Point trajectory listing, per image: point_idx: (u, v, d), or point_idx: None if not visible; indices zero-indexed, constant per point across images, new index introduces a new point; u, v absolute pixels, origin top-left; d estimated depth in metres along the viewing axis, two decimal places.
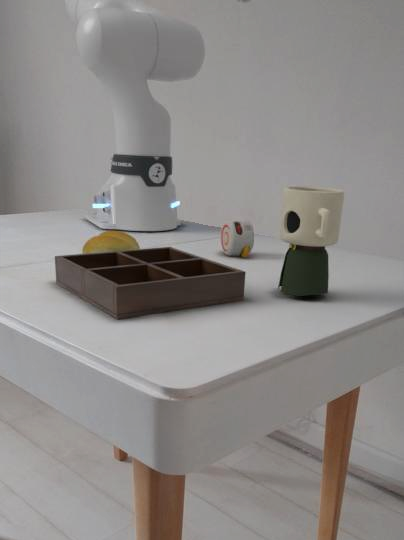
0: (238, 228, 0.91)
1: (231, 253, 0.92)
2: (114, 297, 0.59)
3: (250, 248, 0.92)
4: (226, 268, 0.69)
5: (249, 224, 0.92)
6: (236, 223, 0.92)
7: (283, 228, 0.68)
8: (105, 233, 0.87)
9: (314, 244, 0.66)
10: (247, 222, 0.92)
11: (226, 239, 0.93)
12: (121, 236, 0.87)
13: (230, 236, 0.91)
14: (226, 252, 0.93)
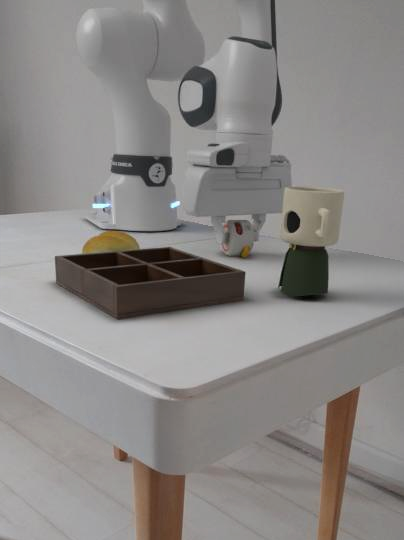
0: (238, 228, 0.91)
1: (231, 253, 0.92)
2: (114, 297, 0.59)
3: (250, 248, 0.92)
4: (226, 268, 0.69)
5: (249, 224, 0.92)
6: (236, 223, 0.92)
7: (283, 228, 0.68)
8: (105, 233, 0.87)
9: (314, 244, 0.66)
10: (247, 222, 0.92)
11: None
12: (121, 236, 0.87)
13: (230, 236, 0.91)
14: (226, 252, 0.93)
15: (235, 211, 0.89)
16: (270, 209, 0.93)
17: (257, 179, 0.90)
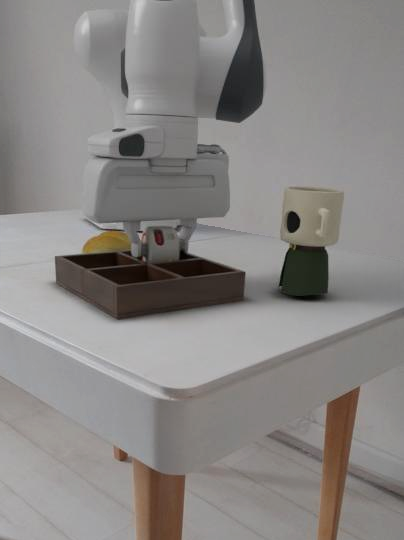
0: (158, 237, 0.71)
1: None
2: (114, 297, 0.59)
3: None
4: (226, 268, 0.69)
5: (173, 232, 0.72)
6: (157, 230, 0.72)
7: (283, 228, 0.68)
8: (105, 233, 0.87)
9: (314, 244, 0.66)
10: (171, 229, 0.72)
11: None
12: (121, 236, 0.87)
13: (148, 247, 0.72)
14: None
15: (152, 216, 0.70)
16: (201, 212, 0.74)
17: (181, 175, 0.70)
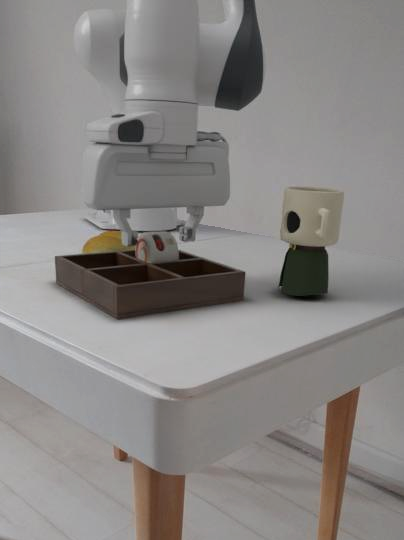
0: (158, 243, 0.71)
1: None
2: (114, 297, 0.59)
3: None
4: (226, 268, 0.69)
5: (171, 237, 0.73)
6: (155, 236, 0.72)
7: (283, 228, 0.68)
8: (105, 233, 0.87)
9: (314, 244, 0.66)
10: (168, 234, 0.73)
11: (143, 257, 0.73)
12: None
13: (148, 253, 0.71)
14: None
15: (151, 203, 0.69)
16: (201, 201, 0.73)
17: (181, 162, 0.70)
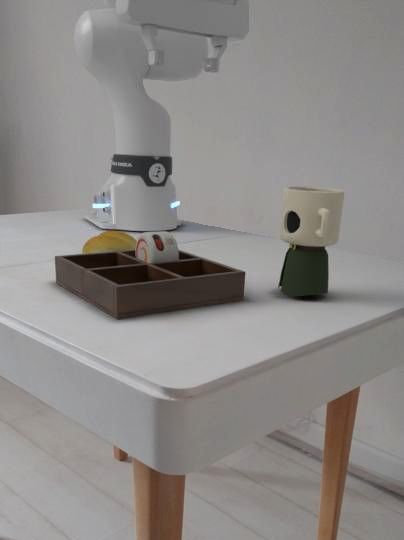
0: (158, 243, 0.71)
1: None
2: (114, 297, 0.59)
3: None
4: (226, 268, 0.69)
5: (171, 237, 0.73)
6: (155, 236, 0.72)
7: (283, 228, 0.68)
8: (105, 233, 0.87)
9: (314, 244, 0.66)
10: (168, 234, 0.73)
11: (143, 257, 0.73)
12: (121, 236, 0.87)
13: (148, 253, 0.71)
14: None
15: (179, 22, 0.76)
16: (223, 29, 0.80)
17: None
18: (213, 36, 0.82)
